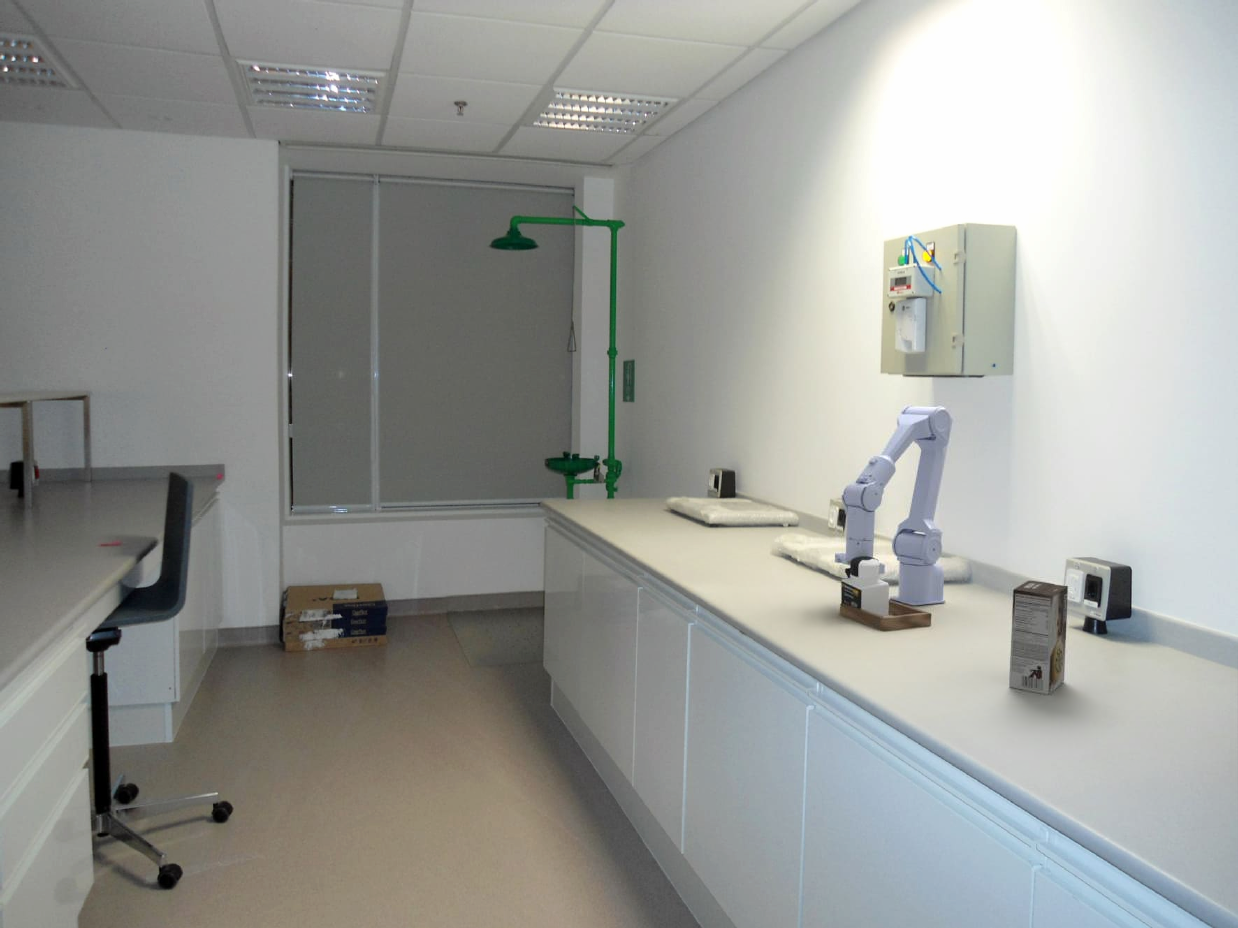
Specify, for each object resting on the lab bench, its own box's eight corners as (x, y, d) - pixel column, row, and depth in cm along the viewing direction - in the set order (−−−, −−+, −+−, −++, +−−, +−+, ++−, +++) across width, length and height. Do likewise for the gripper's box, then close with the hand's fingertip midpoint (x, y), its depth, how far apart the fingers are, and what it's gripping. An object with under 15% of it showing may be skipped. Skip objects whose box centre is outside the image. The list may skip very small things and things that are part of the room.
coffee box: (1024, 674, 156) (1028, 579, 155) (1065, 681, 152) (1069, 584, 151) (1007, 687, 149) (1011, 588, 148) (1049, 695, 145) (1054, 594, 144)
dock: (885, 610, 201) (885, 598, 201) (930, 625, 188) (931, 613, 188) (839, 615, 196) (840, 603, 196) (883, 630, 184) (883, 618, 183)
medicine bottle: (840, 610, 198) (840, 556, 196) (868, 605, 201) (868, 552, 199) (860, 621, 192) (861, 565, 190) (889, 615, 194) (890, 560, 192)
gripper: (824, 534, 204) (822, 595, 205) (866, 544, 191) (863, 609, 192) (850, 533, 207) (848, 593, 208) (893, 543, 194) (891, 607, 195)
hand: (857, 601), depth 200 cm, fingers closed, pressing on medicine bottle
